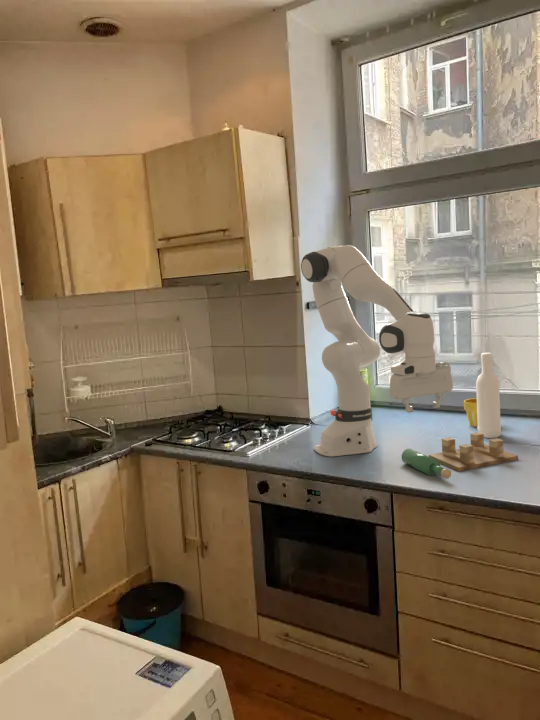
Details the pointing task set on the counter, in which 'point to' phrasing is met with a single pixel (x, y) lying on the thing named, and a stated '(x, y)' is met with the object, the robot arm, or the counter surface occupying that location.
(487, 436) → the bottle
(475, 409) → the plant pot
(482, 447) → the bottle rest
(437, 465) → the bottle
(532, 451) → the counter surface
